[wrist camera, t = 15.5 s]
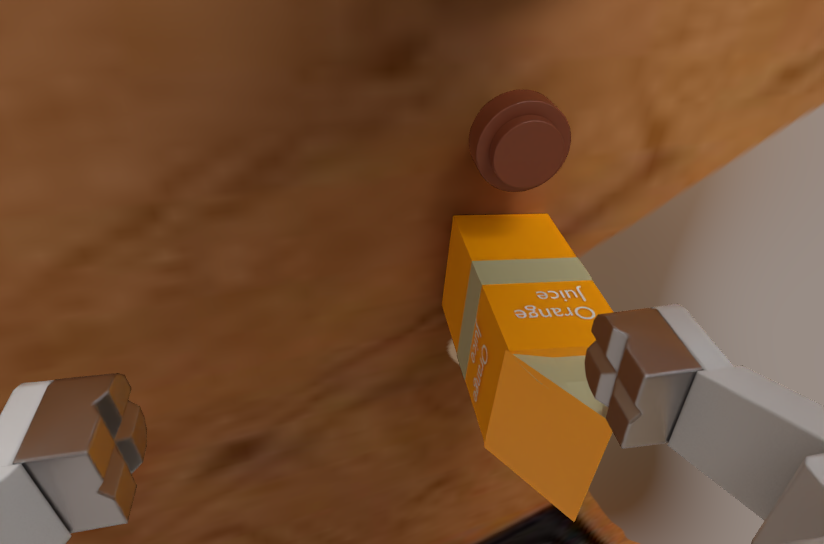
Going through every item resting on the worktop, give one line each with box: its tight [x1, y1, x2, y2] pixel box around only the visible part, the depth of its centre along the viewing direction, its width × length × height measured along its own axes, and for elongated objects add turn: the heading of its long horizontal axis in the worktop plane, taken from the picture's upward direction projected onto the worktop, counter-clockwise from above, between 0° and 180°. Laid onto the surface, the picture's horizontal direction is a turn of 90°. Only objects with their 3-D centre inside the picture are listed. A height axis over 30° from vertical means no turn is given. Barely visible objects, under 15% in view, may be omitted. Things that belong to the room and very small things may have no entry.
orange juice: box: [442, 214, 613, 522], centre depth 39 cm, size 8×9×20 cm
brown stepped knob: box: [469, 90, 571, 192], centre depth 37 cm, size 6×6×6 cm
